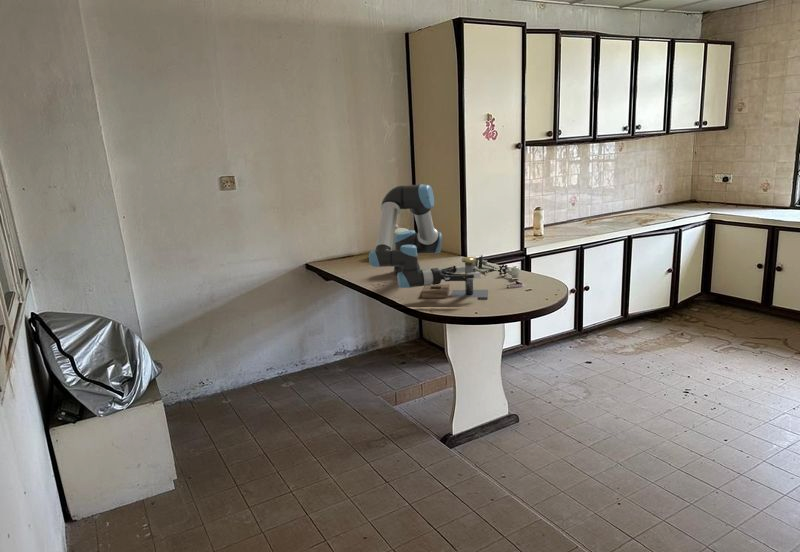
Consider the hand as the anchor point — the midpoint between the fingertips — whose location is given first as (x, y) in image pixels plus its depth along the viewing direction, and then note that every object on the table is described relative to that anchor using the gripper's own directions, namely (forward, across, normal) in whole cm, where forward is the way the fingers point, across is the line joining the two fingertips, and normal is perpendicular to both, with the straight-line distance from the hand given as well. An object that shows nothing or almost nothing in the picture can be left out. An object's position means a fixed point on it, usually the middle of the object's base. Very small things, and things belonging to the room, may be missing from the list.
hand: (474, 271), depth 262 cm
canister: (-13, -106, -12) cm, 107 cm away
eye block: (-17, -7, -12) cm, 22 cm away
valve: (+28, -23, -12) cm, 39 cm away
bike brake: (+22, -45, -12) cm, 51 cm away
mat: (-2, -1, -12) cm, 12 cm away
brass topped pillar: (-3, 0, -10) cm, 11 cm away
